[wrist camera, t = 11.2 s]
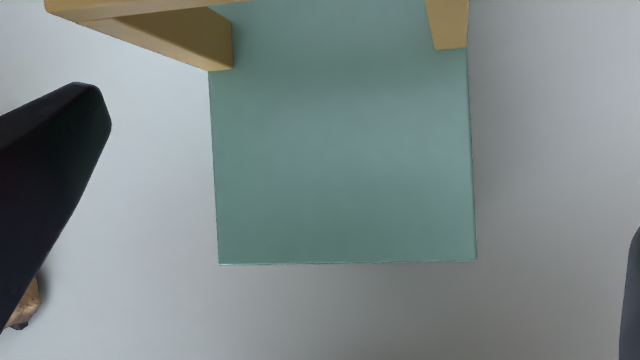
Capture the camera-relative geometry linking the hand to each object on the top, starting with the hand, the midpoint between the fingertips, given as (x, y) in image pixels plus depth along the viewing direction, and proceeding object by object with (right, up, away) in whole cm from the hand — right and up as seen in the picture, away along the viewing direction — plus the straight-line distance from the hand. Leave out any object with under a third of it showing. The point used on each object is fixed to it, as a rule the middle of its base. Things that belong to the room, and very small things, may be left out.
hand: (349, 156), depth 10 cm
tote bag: (+2, +3, +12) cm, 12 cm away
